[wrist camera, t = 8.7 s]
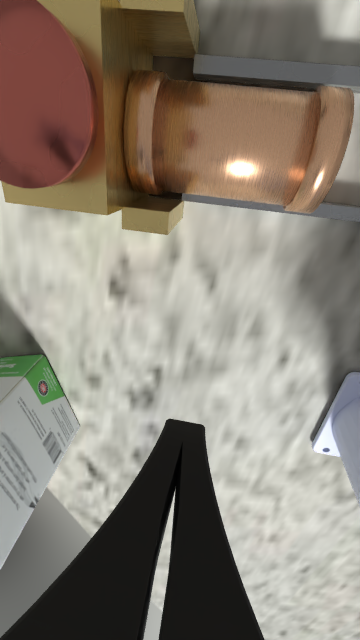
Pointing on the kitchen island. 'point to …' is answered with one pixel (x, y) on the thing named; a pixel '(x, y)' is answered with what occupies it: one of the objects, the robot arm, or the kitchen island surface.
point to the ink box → (29, 439)
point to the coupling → (235, 140)
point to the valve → (82, 101)
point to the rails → (286, 77)
